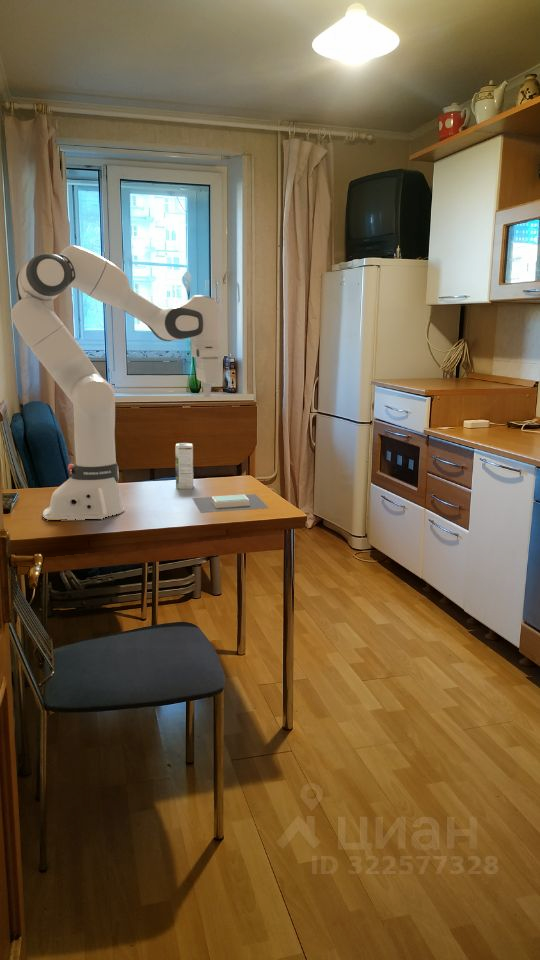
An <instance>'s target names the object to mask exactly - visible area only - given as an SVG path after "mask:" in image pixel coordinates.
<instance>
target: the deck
mask: <svg viewBox="0 0 540 960" xmlns="http://www.w3.org/2000/svg"><path fill="white" fill-rule="evenodd" d="M245 495H246V494H229V495H213V496H211V497H212V503H213V505H214V506H215V508H224V507H239V506H249V499H248V498H247V497H246V496H245Z"/></svg>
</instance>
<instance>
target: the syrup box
mask: <svg viewBox="0 0 540 960" xmlns="http://www.w3.org/2000/svg"><path fill="white" fill-rule="evenodd" d="M174 451H175V452H174V453H175V454H174V455H175V459H174V460H175V489H177V490H187V489H188V490H189V489H194V444H193V443H189V442H179V443H176V444H175V449H174Z"/></svg>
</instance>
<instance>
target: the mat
mask: <svg viewBox="0 0 540 960" xmlns="http://www.w3.org/2000/svg"><path fill="white" fill-rule="evenodd" d="M244 495H245V496H246V497H247V498H248V499H249V506H239V507H224V508H215V506H214V505H213V503H212V497H213V496H207V497H205V496H204V497H192V500H193V502H194V504H195V506H196V507H197V509H198V511H199V512H200V513H201V514H202V513H203V514H205V513H214V512H216V513H218V512H230V511H231V512H232V511H233V512H234V511H244V510H245V511H246V510H248V511H249V510H259V509H260V510H262V509H263V510H264V509H269V508H270V507H269V506H268V505H267V504H266V503H265V502H264V501H263V500H262V499H261V498H260V497H259V496H258V495H257V494H256V493H254V494H253V493H252V494H244Z"/></svg>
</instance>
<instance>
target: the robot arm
mask: <svg viewBox="0 0 540 960" xmlns="http://www.w3.org/2000/svg"><path fill="white" fill-rule="evenodd" d="M15 284H16V285H15V287H16V291H17V297H18V301H17V302H16V303H15V304H14V306H13V307H12V309H11V311H10V318H11V320H12V322H13V325H14V326H15V328H16V331H17V332H18V333H19V335H20V336H21V338H22V340H23V341H24V342H25V344H26V345H27V347H29V348H30V350H31V352H32V353H33V355H34V356H35V357H36V358H37V360H38V361H39V362H40V363H41V364H42V366H43V367H44V369H45V370H46V371H47V372H48V374H49V375H50V376H51V378H52V379H53V380H54V381H55V382H56V384H57V385H58V386H59V388H60V389H61V390H62V391H63V393H64V394H65V395H66V396H67V398H68V399H69V400H70V401H71V403H72V404H73V405H72V406H73V428H74V429H73V431H74V434H73V437H74V455H75V463H74V464H73V463H70V464H68V466H67V471H68V475H69V477H68V479H67V480H66V481H64V482H63V483H62V484H61V485H59V487H57V488H56V489H55V490H54V491H53V492H52V494H51V497H50V504H49V506H48V507H46V508H45V509H44V510H43V512H42V518H43V517H44V518H46V519H67V520H66V521H86V520H85V519H101V520H104V519H106V518H105V517H107V518H109V517H112V515H113V516H116V514H117V515H119V514H122V513H123V512H124V511H125V507H124V504H123V502H122V498H121V493H120V489H119V479H120V475H119V465H118V462H117V459H116V456H117V455H116V437H115V428H116V393H115V390H114V387H113V386H112V385H111V383H110V382H108V381H107V380H106V379H104V378H103V376H102V375H101V374H100V373H99V371H98V369H96V367H95V365H94V364H93V362H92V361H91V360H90V358H89V357H88V356H87V353H86V352H85V351H84V349H83V348H82V347H81V346H80V345H81V344H79V342H77V340H76V339H75V336H73V335H72V334H71V332H70V331H69V329H68V328H67V327H66V325H65V324H64V323H63V321H62V320H61V319H60V318H59V316H57V313H56V311H55V309H54V306H53V300H54V299H56V298H57V297H59V296H60V295H61V294H62V293H63V292H64V291H66V289H67V288H72V289H76V290H78V291H80V292H81V293H83V294H85V295H86V296H89V297H90V298H92V299H95V300H96V301H98V302H101V303H103V304H106V305H108V306H111V307H115V308H117V309H120V310H122V311H123V312H126V313H127V314H129V315H130V316H132V317H134V318H135V319H137V320H138V321H140V322H142V323H143V324H145V325H146V326H147V327H148V328H149V330H150V331H151V332H152V333H153V335H154V336H155V337H156V338H157V339H158V340H161V341H164V342H172V341H183V340H186V339H189V338H190V349H191V350H190V351H191V352H190V353H191V354H190V355H191V357H192V358H195V364H196V365H195V366H196V368H195V369H196V371H195V374H196V379H197V380H198V381H200V382H201V385H202V390H203V392H202V393H203V397H205V398H210V397H212V394H211V391H212V384H217V383H218V381H219V373H220V371H219V370H220V359H221V357H222V353H221V352H222V351H221V338H220V327H221V319H220V310H219V308H220V307H219V304H218V302H217V300H216V299H215V298H213V297H212V296H208V295H202V294H195V295H192V296H191V298H189V299H188V300H186V301H184V302H182V303H180V304H178V305H176V306H175V305H174V306H173V307H163V306H158V305H156V304H155V303H153V302H151V301H150V300H148V299H146V298H144V297H143V296H141V295H139V294H138V293H137V292H135V291H134V290H133V289H132V287H131V285H130V282H129V277H128V275H127V274H126V273H125V272H124V271H123V270H122V269H120V267H118V266H117V265H115V263H113V262H112V261H110V260H108V259H106V258H104V257H103V256H101V255H99V254H97V253H95V252H93V251H91V250H89V249H86V248H84V247H81V246H77V245H68V246H67V247H65V248H64V249H63V250H61V251H60V252H59V253H57V254H54V253H40V254H38V255H35V256H34V257H31V259H30V260H28V261H26V262H25V263H24V264H23V265H22V267H21V269H20V270H19V271H18V273H17V274H16V281H15ZM108 516H109V517H108ZM44 518H43V519H44ZM103 518H104V519H103ZM75 519H76V520H75Z"/></svg>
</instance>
